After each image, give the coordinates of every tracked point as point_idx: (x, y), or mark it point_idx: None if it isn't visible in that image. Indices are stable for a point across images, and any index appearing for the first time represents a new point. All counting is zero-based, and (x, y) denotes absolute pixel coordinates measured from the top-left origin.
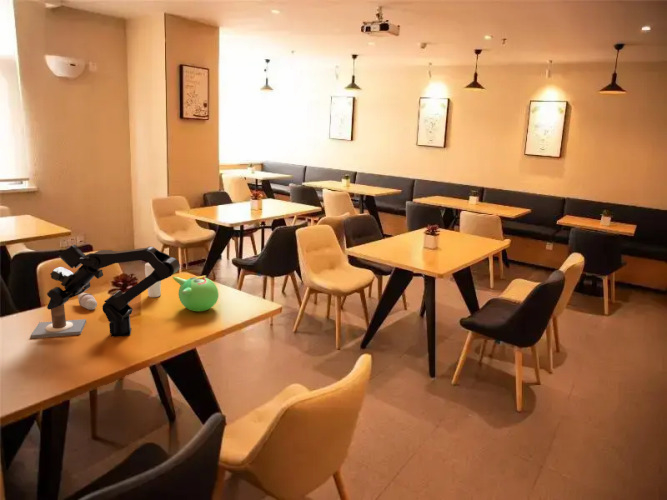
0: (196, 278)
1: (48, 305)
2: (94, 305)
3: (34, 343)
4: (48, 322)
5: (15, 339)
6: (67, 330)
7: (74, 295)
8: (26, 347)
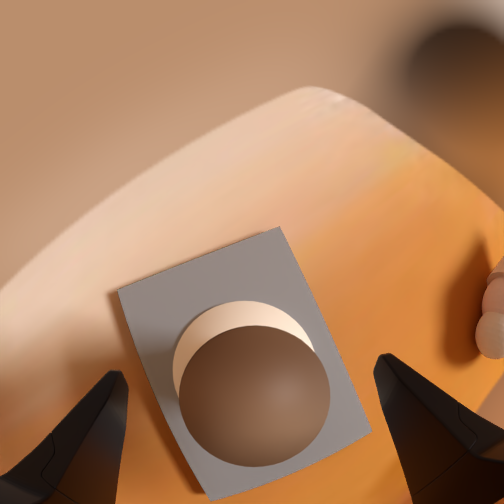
0: None
1: (87, 400)
2: (492, 358)
3: (79, 342)
4: (290, 272)
5: (110, 233)
6: None
7: (411, 482)
8: (45, 330)
